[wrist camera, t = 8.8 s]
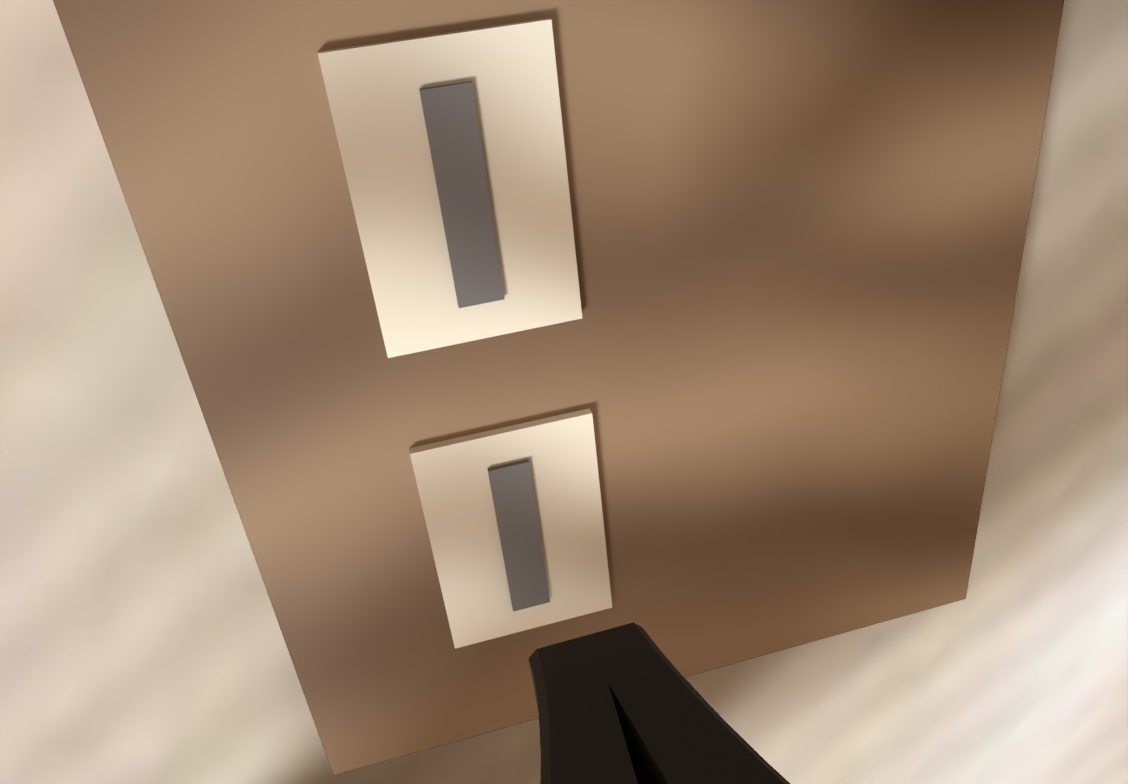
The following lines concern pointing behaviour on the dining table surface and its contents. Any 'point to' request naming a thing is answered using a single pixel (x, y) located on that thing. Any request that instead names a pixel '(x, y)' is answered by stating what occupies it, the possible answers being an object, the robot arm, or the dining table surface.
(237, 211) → the label board
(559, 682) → the robot arm
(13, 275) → the dining table surface
